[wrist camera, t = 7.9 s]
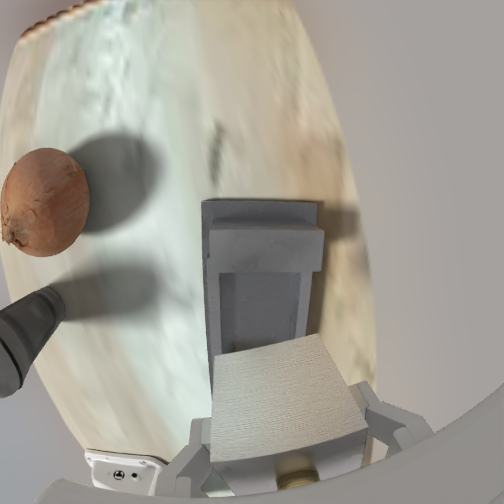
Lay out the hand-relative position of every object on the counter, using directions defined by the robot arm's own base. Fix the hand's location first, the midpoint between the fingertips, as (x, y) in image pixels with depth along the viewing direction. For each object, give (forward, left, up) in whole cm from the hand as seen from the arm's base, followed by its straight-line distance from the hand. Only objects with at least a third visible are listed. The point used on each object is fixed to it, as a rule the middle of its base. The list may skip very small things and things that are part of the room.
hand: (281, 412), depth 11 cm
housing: (0, 0, -2) cm, 2 cm away
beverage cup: (-24, -3, -16) cm, 29 cm away
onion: (-19, +9, -16) cm, 26 cm away
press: (0, -5, -16) cm, 17 cm away
